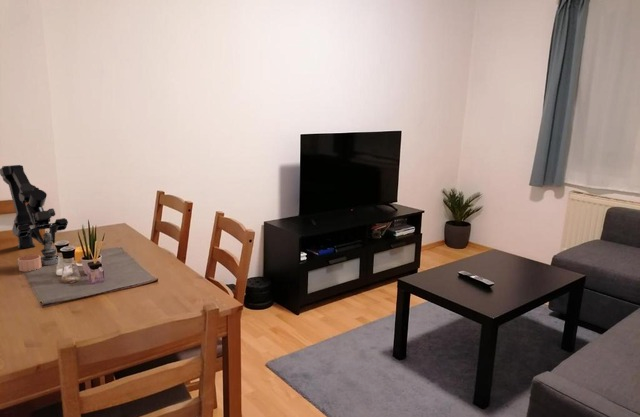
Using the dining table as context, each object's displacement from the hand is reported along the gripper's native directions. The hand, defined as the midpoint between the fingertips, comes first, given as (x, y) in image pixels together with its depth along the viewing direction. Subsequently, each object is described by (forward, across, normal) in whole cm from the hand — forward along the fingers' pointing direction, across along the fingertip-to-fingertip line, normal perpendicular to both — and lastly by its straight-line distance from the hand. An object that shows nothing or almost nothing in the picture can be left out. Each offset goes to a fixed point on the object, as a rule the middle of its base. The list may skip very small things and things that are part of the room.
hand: (49, 243), depth 192 cm
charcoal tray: (+5, 0, +7) cm, 8 cm away
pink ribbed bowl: (+7, -8, +5) cm, 12 cm away
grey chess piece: (+4, 0, +6) cm, 7 cm away
